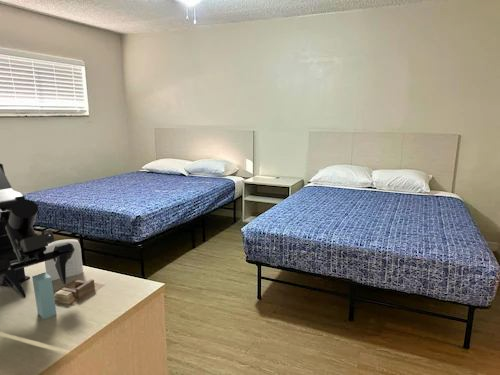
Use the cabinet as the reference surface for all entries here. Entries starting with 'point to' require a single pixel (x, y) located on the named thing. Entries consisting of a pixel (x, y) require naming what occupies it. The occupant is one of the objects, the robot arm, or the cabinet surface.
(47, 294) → the teal rectangular block
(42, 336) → the cabinet surface
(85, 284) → the rack
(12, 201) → the robot arm
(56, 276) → the photo printer
